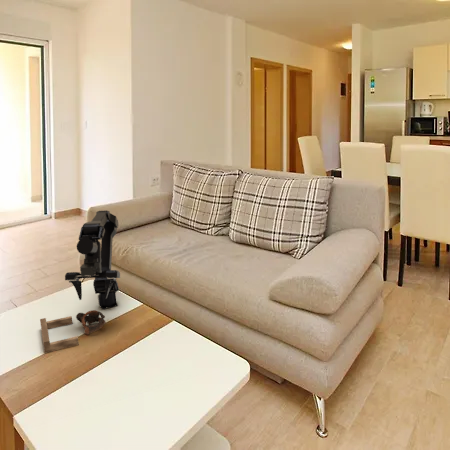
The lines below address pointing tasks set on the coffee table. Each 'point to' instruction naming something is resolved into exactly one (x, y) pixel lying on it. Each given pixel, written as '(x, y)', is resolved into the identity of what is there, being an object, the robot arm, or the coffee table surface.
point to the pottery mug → (91, 321)
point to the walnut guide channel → (57, 344)
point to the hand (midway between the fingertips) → (93, 299)
